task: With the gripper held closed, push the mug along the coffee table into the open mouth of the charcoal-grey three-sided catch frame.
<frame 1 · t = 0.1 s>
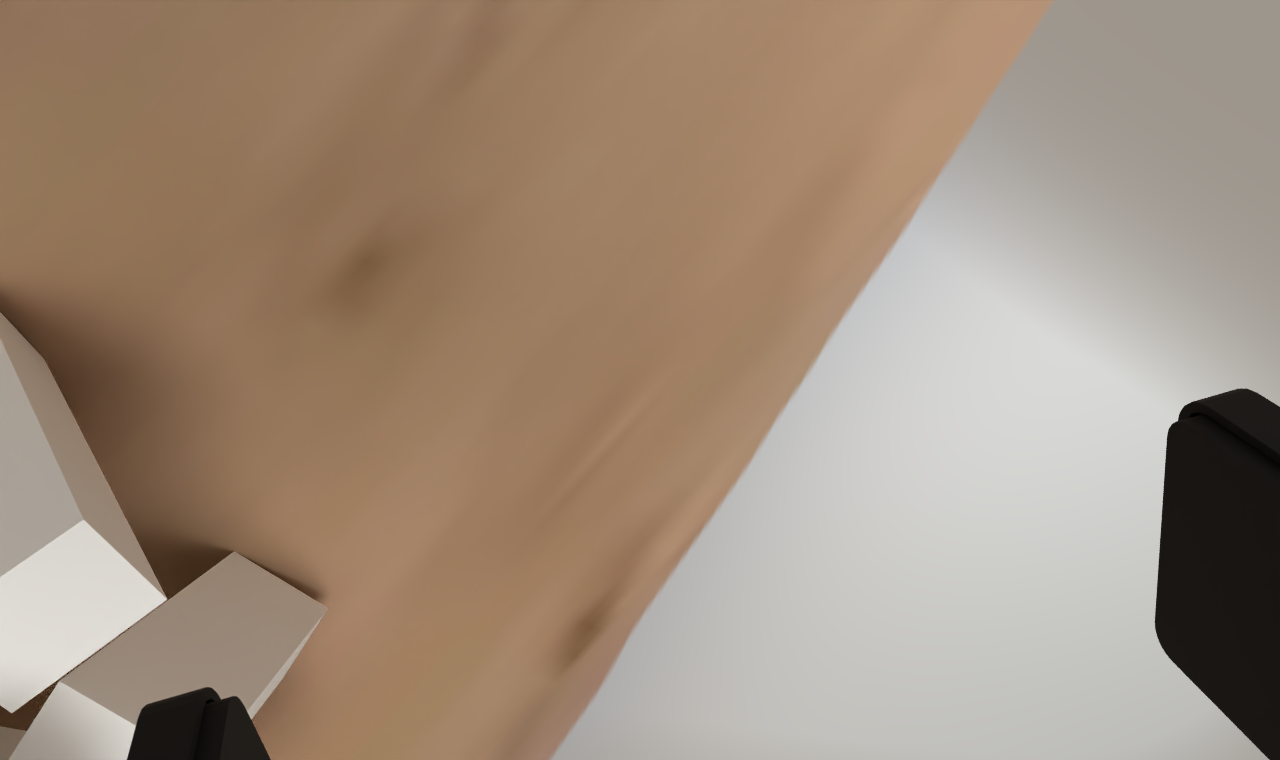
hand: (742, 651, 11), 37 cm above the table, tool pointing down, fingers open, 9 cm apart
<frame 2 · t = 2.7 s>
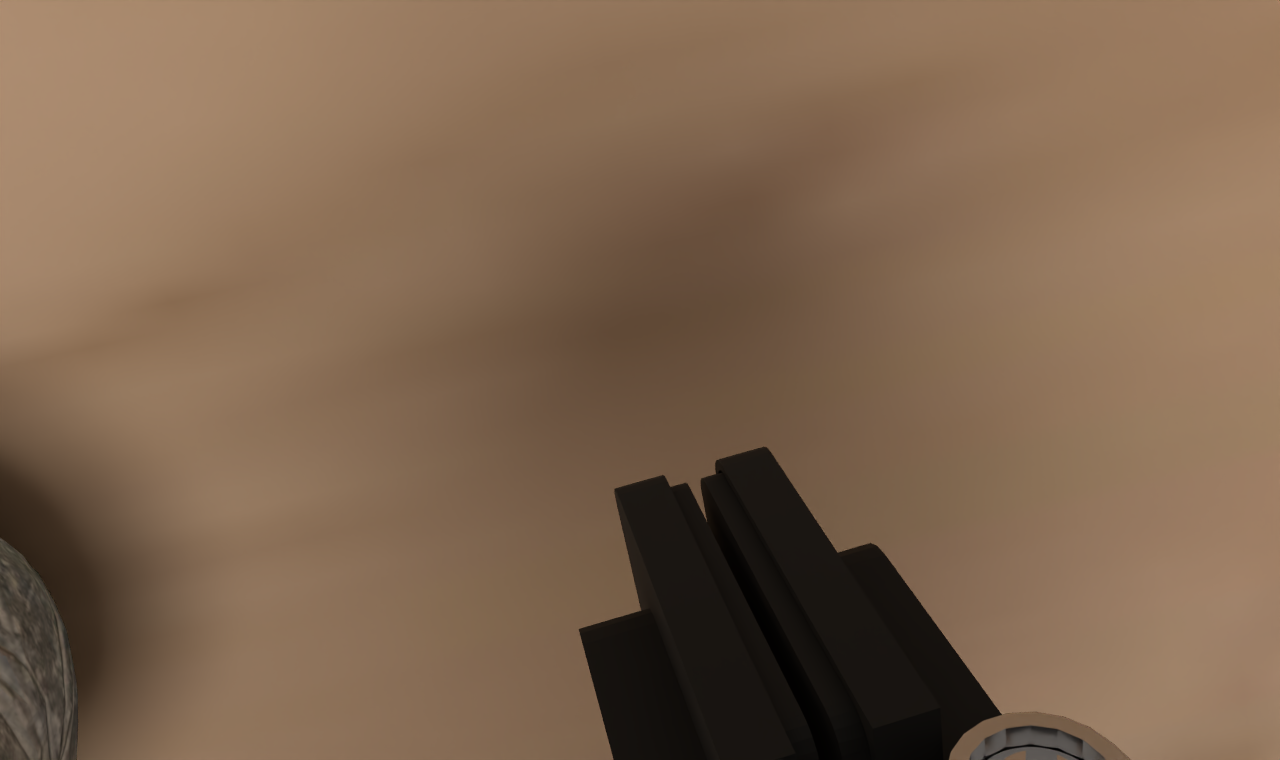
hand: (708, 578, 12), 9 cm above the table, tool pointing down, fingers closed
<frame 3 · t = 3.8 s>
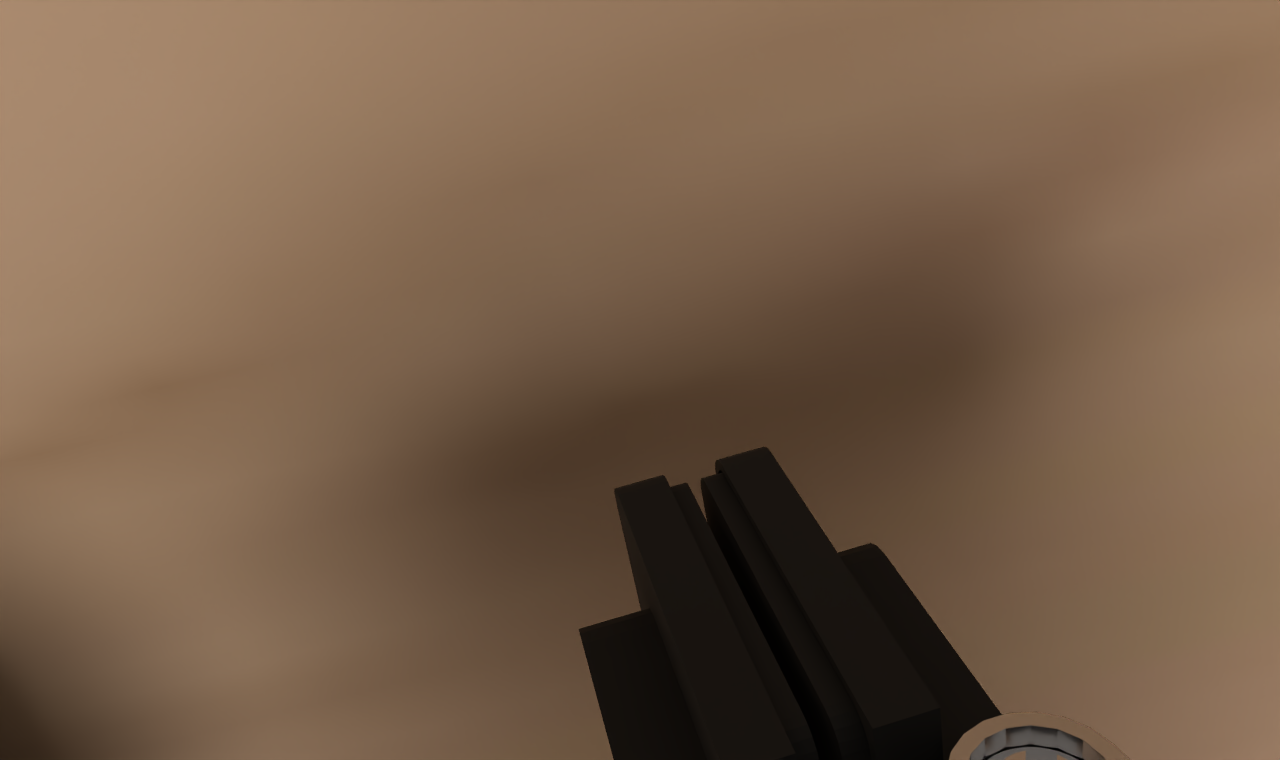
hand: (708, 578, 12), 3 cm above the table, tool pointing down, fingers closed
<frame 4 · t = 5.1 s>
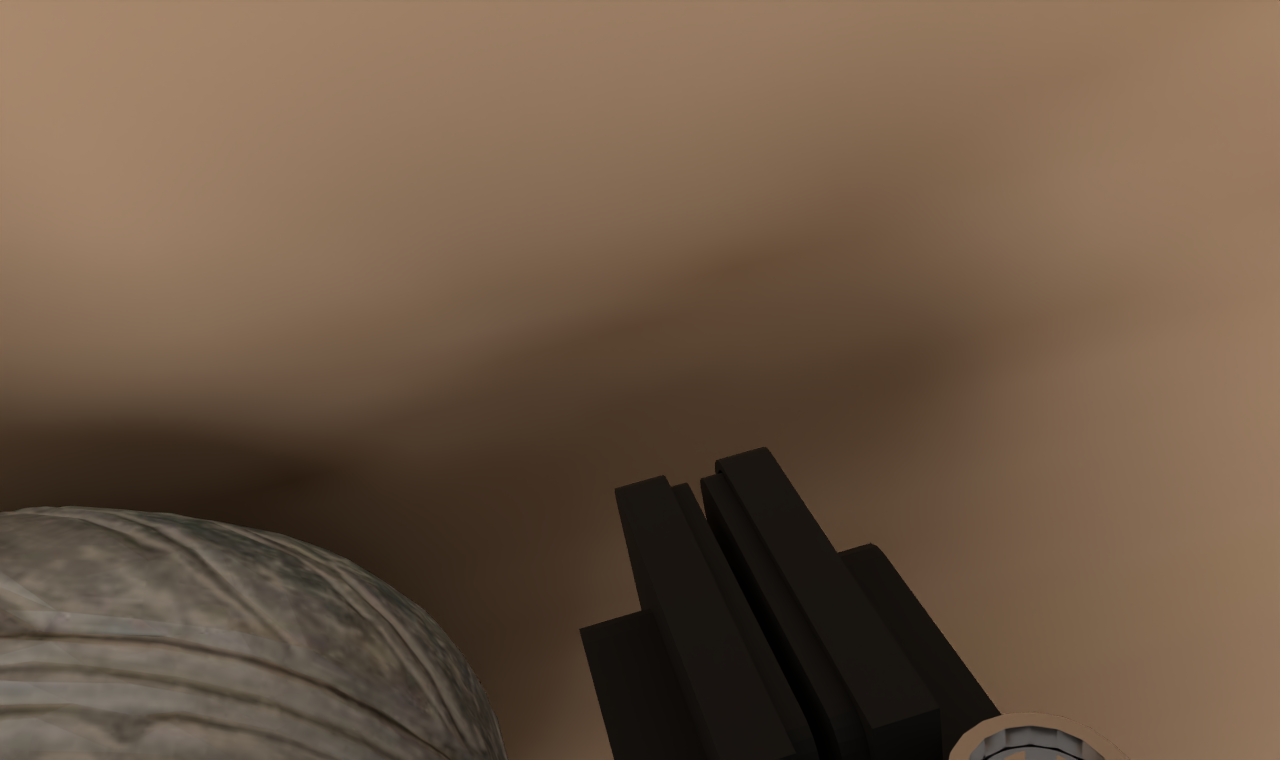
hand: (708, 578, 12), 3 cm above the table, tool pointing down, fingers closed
mug: (54, 636, 14), on the table, touching gripper
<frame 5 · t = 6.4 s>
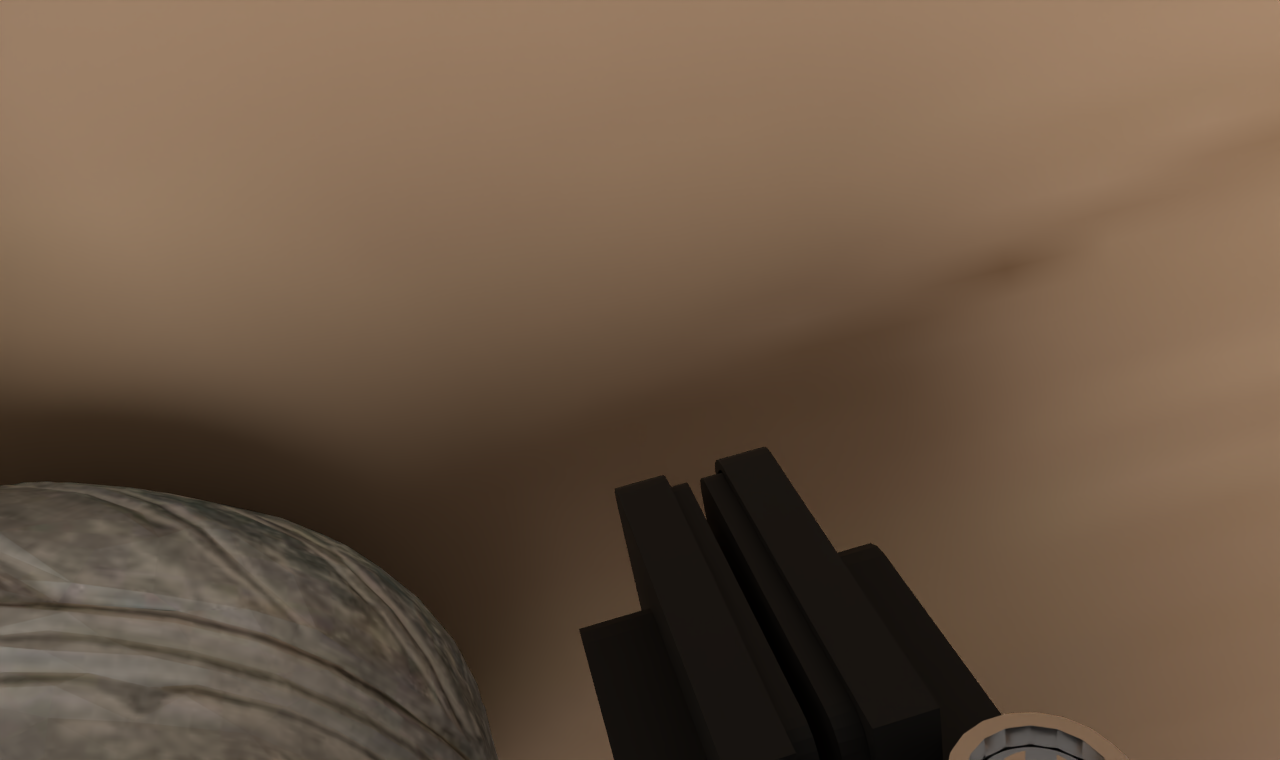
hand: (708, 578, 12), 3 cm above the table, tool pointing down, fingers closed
mug: (33, 617, 13), on the table, touching gripper
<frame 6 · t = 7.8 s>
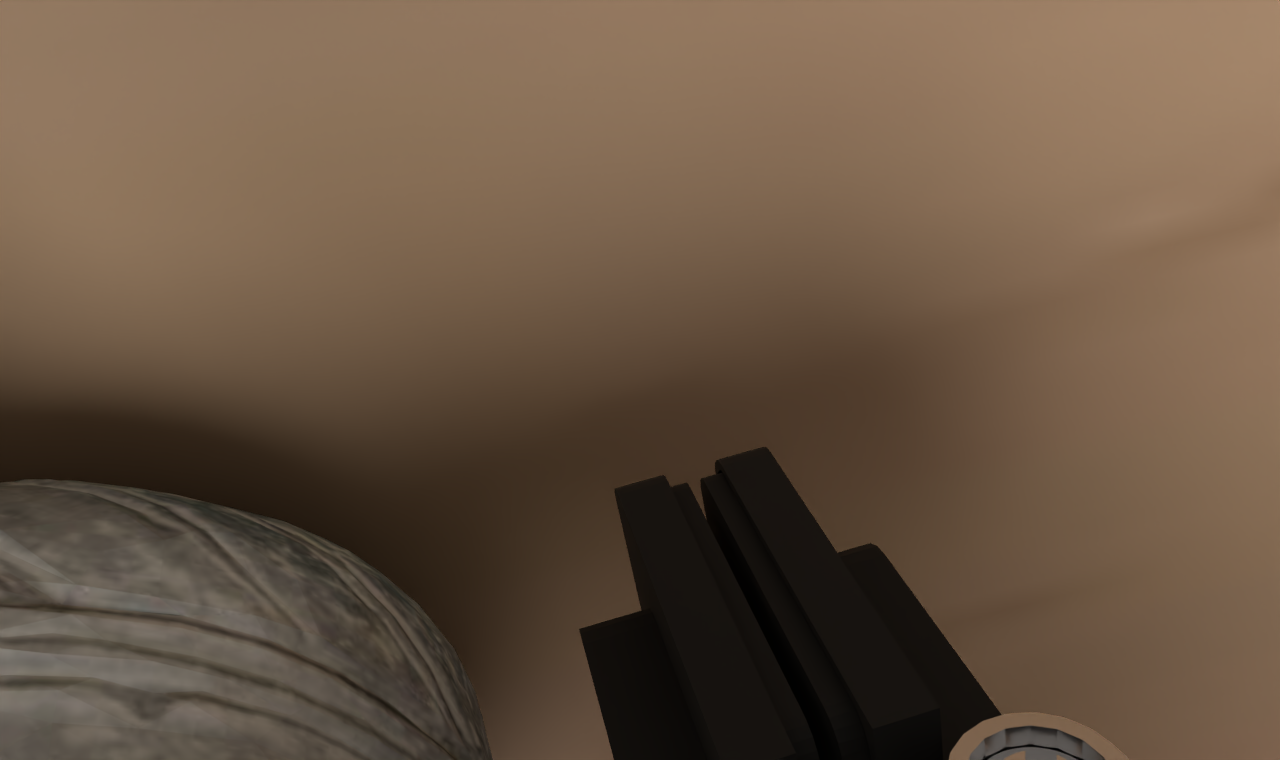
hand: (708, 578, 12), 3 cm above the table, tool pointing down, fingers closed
mug: (26, 613, 13), on the table, touching gripper
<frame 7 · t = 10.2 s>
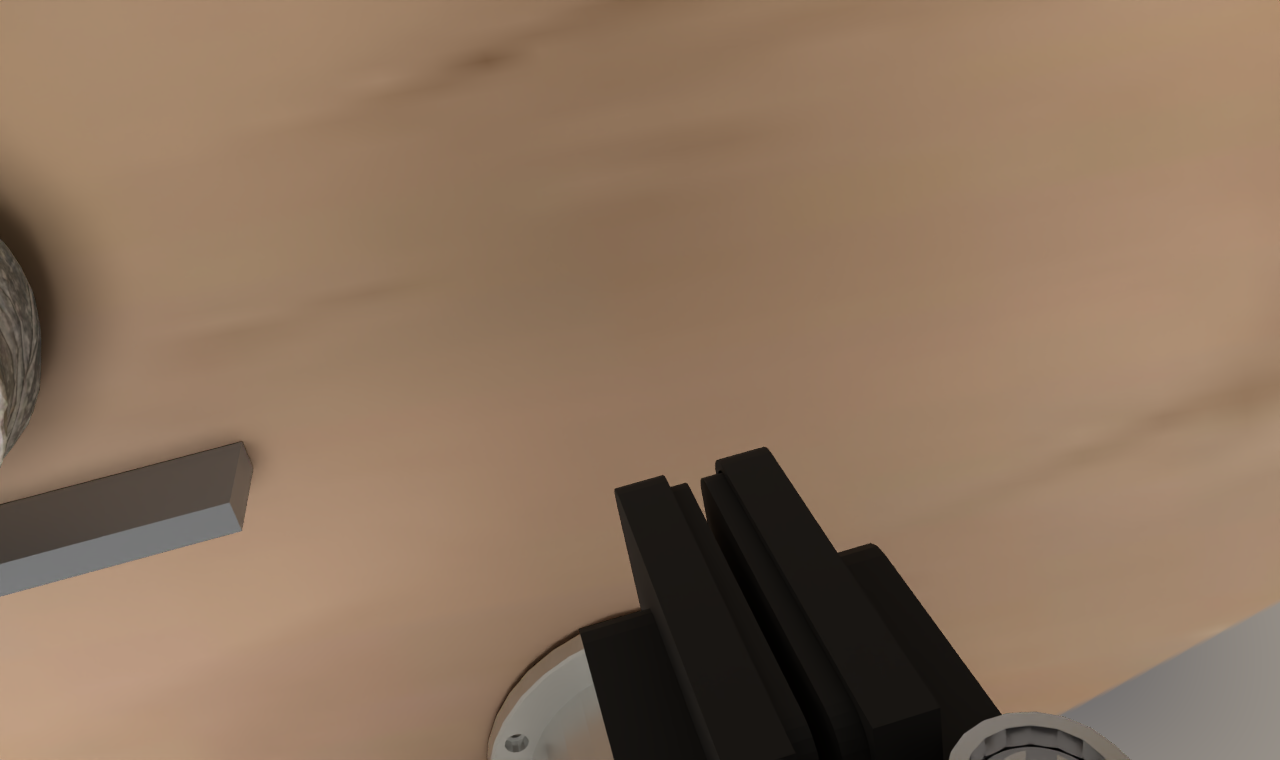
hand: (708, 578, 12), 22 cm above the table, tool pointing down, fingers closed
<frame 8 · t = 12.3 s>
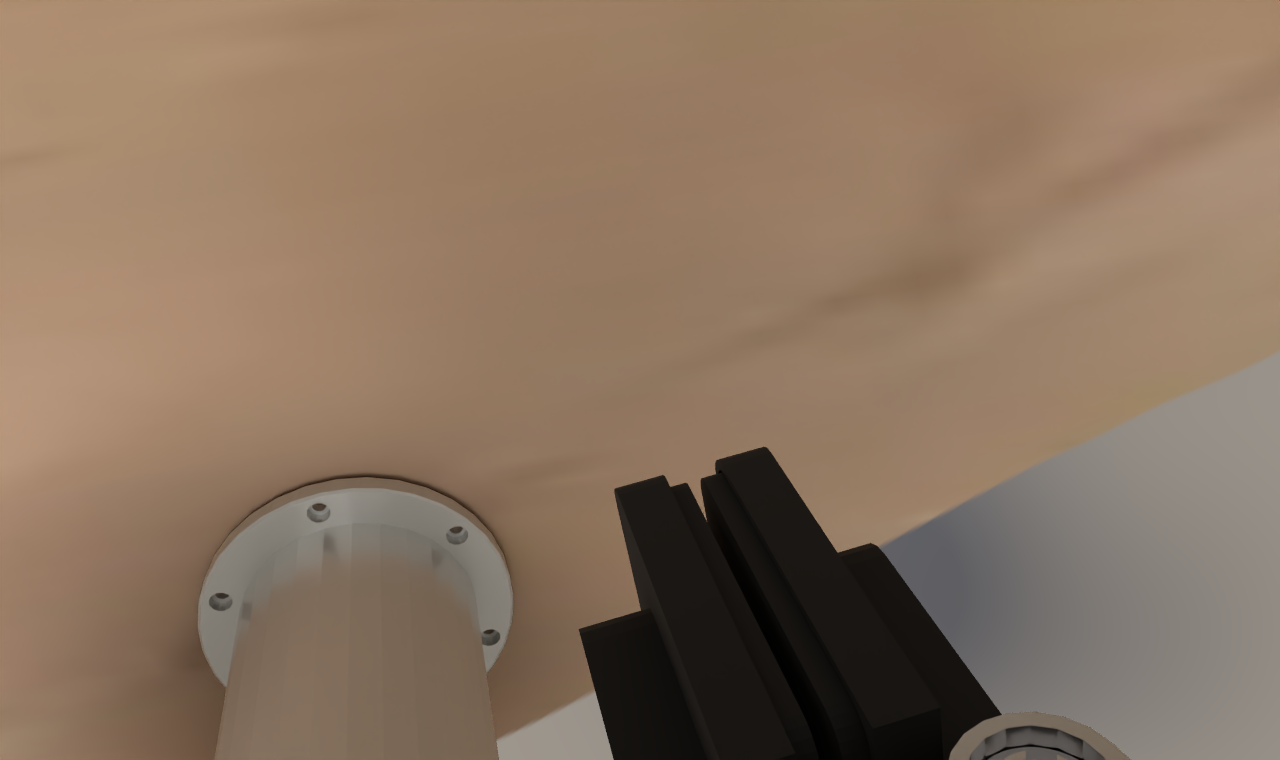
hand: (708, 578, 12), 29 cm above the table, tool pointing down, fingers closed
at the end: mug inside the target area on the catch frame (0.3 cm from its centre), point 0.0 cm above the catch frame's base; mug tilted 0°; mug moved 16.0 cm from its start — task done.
